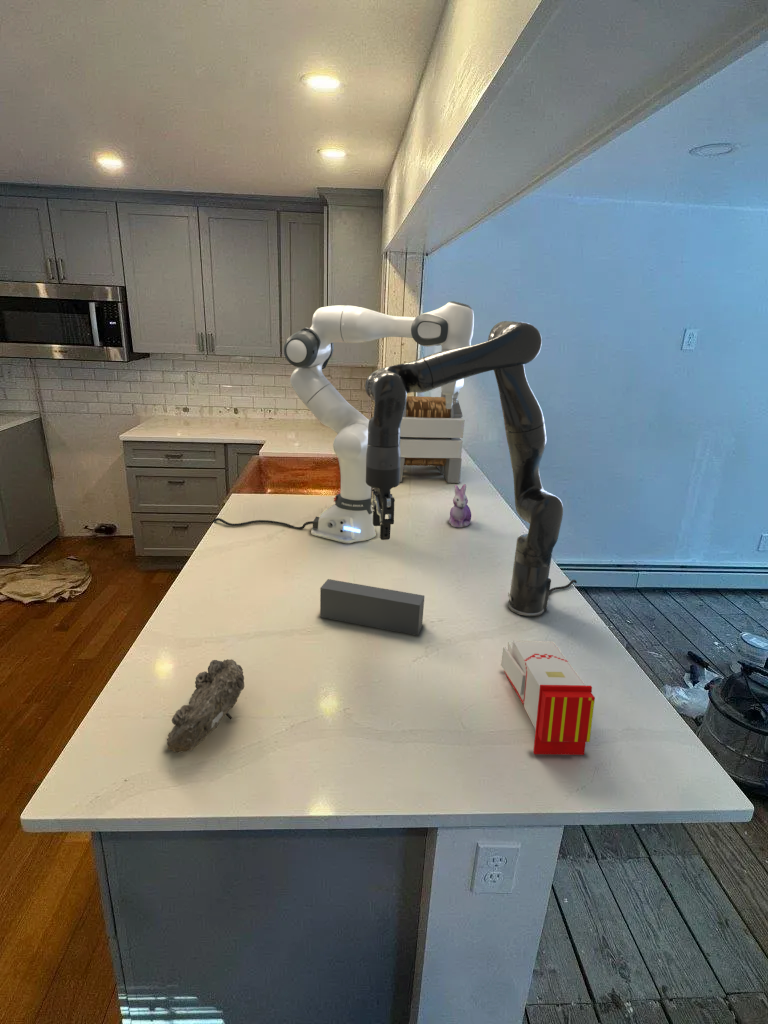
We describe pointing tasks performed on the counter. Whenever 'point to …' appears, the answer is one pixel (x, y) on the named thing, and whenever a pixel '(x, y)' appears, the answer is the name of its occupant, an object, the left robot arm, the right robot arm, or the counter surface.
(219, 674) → the fossil
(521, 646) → the toy
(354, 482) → the left robot arm
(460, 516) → the figurine
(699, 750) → the counter surface
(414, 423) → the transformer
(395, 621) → the bar
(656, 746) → the counter surface
